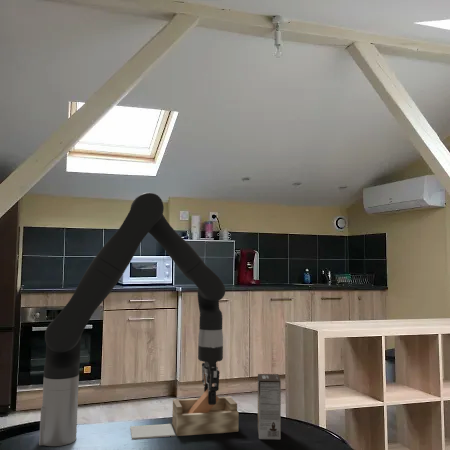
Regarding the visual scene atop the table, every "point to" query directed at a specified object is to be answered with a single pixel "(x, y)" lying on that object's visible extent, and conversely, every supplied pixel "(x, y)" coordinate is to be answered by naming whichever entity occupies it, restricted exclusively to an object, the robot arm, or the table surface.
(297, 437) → the table surface
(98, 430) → the table surface
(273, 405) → the coffee box
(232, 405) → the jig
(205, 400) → the orange rectangular block
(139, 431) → the mat
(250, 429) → the table surface
